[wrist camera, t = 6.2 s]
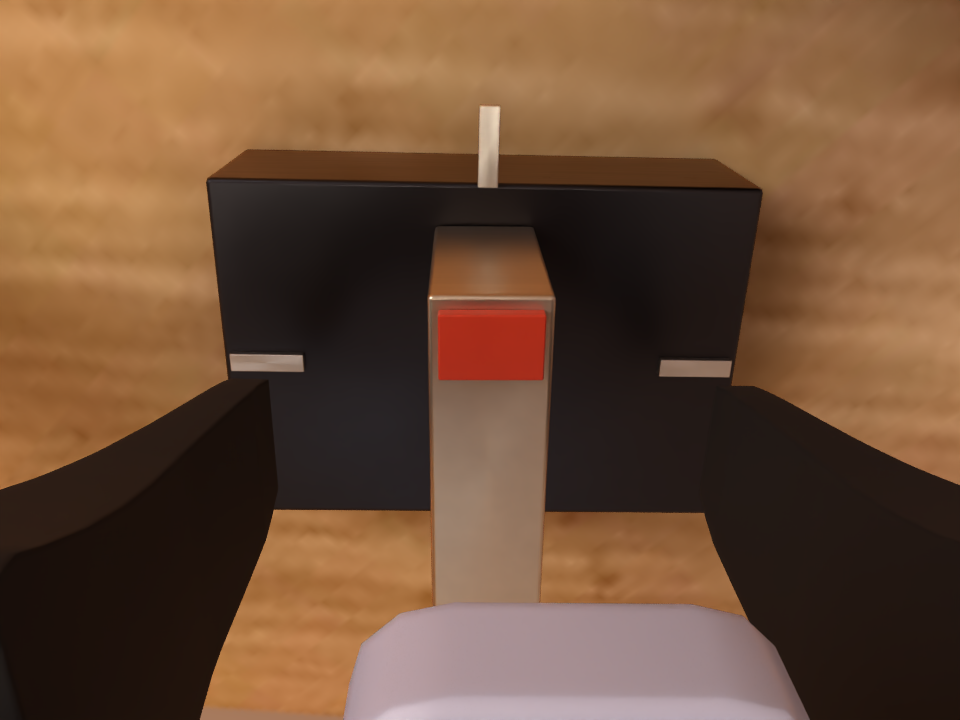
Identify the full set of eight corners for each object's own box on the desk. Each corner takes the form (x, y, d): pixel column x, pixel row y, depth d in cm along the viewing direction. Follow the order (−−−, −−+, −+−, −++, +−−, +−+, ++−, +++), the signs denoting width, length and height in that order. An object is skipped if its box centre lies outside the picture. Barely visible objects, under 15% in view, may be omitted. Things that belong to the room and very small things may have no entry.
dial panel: (727, 92, 17) (781, 112, 14) (670, 490, 21) (705, 570, 18) (238, 81, 17) (191, 98, 14) (275, 487, 21) (245, 567, 18)
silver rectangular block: (524, 484, 17) (541, 618, 13) (437, 483, 17) (431, 618, 13) (534, 226, 15) (558, 302, 11) (435, 225, 15) (426, 301, 11)
